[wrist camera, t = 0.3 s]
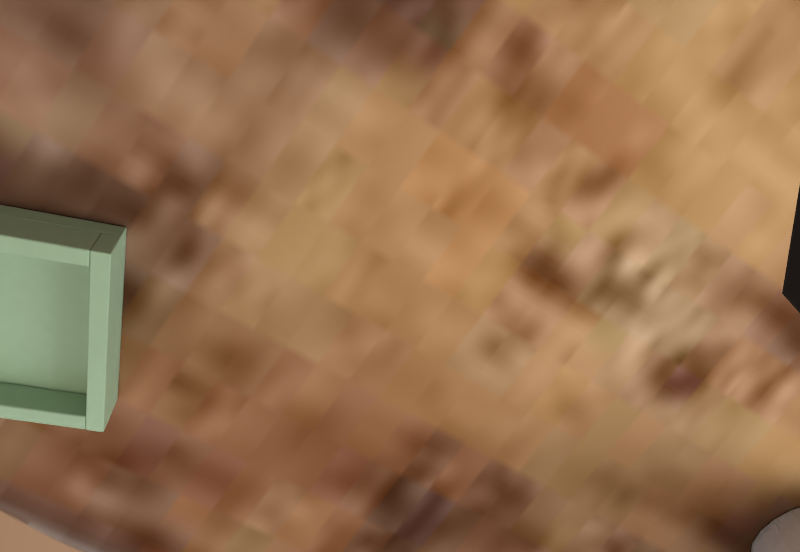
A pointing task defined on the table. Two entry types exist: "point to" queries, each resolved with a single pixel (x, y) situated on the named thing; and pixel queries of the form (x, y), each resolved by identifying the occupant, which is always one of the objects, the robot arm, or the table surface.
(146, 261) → the table surface
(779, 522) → the coffee cup
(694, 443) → the table surface
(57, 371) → the tray
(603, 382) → the table surface
